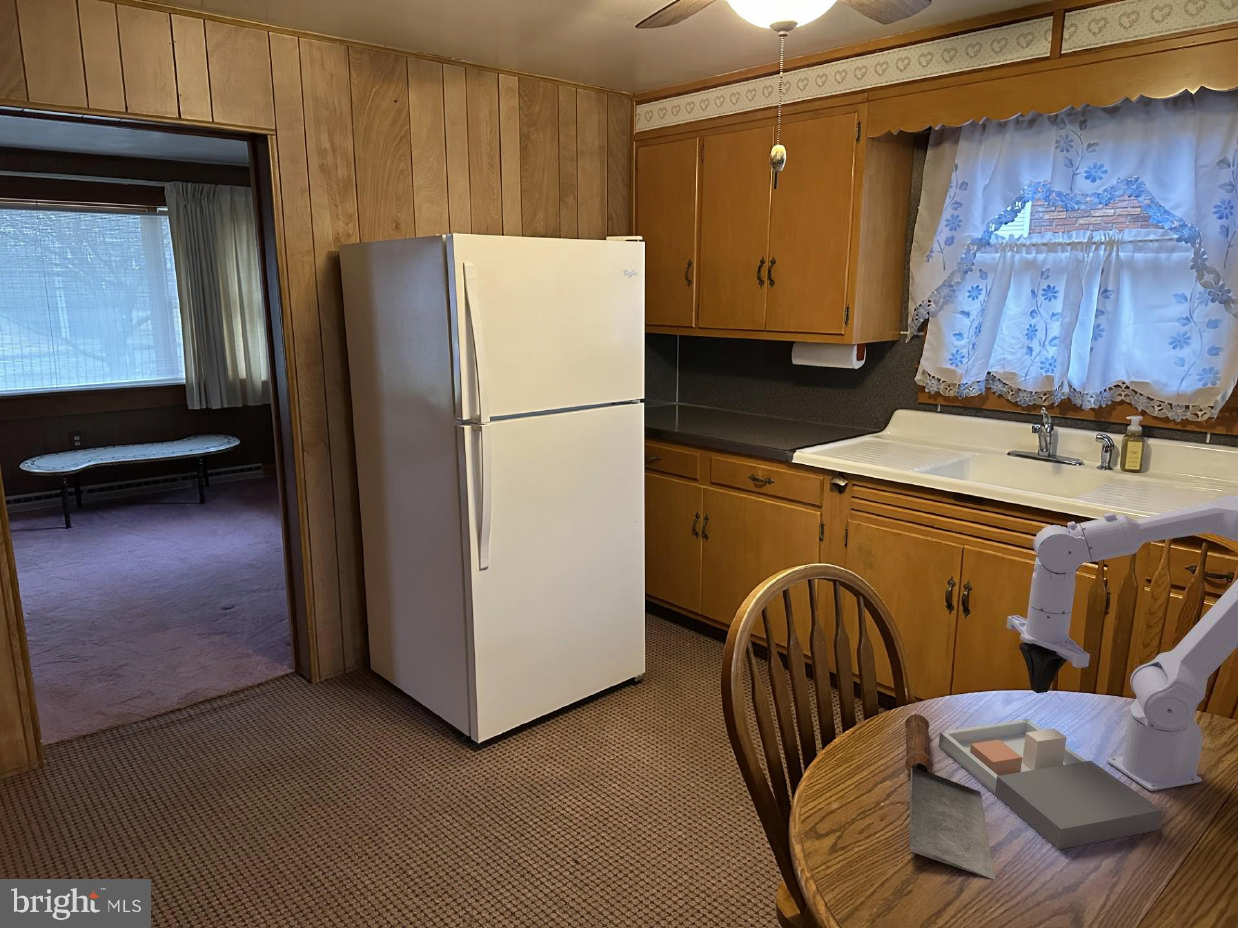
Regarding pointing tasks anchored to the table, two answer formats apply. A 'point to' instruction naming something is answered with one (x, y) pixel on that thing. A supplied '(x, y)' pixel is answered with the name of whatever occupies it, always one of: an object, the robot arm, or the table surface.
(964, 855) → the meat cleaver
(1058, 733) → the tile white
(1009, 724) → the tray
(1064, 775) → the board
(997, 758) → the tile terracotta
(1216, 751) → the table surface
